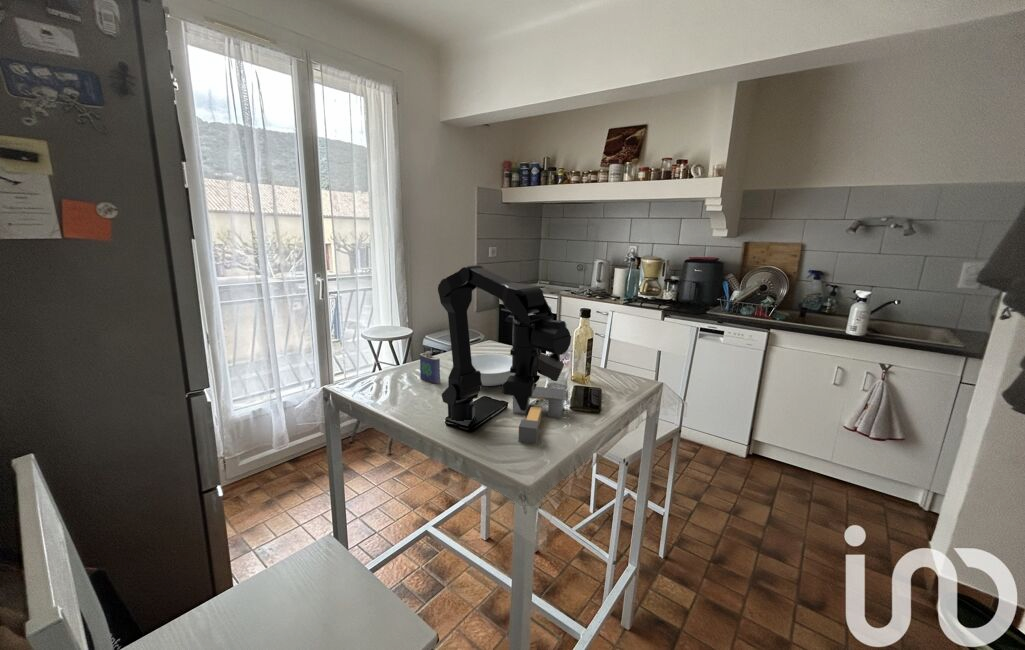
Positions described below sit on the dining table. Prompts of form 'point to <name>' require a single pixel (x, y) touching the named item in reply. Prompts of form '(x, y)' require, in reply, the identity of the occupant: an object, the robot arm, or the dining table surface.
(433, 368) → the flask
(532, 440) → the plug
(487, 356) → the serving bowl
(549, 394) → the grey arch block
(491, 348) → the dining table surface
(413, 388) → the dining table surface
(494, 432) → the dining table surface
